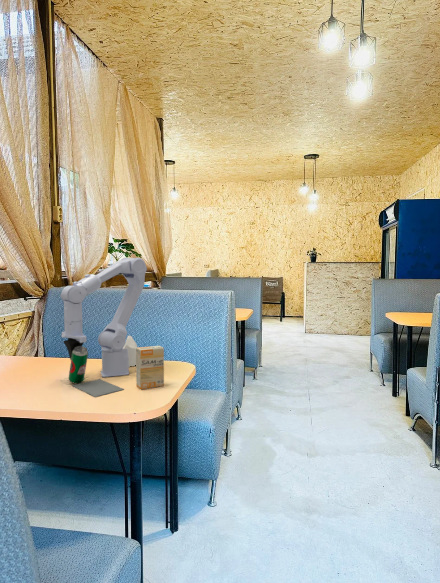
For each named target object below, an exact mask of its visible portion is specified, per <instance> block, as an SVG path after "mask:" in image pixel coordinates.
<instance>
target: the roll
mask: <svg viewBox="0 0 440 583" xmlns="http://www.w3.org/2000/svg"><path fill="white" fill-rule="evenodd" d="M127 335H128V334H127ZM137 347H138V345H137V342H136V341H135V340H134V338H133V336H131V334H130V335H128V336H126V342H125V345H124V347H123V348H122V349H127V350H128V358H129V368H131V367H130V366H134V367H136V366H135V365H136V348H137Z"/></svg>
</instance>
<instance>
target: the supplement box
mask: <svg viewBox="0 0 440 583" xmlns="http://www.w3.org/2000/svg"><path fill="white" fill-rule="evenodd" d="M164 361H165V349H164V347H163V346H161V345H151V346H141V347H139V346H137V348H136V366H135V369H136V370H135V373H136V374H135V379H136V380H135V381H136V382H135V383H136V384H135V385H136V387H137V388H138V389H139V390H140V389H141V390H147V389H146V388H148V389H152V387H154V388H157V387H158V386H160V387H164V386H165V364H164V363H165V362H164ZM158 388H159V387H158Z"/></svg>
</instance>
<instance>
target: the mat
mask: <svg viewBox="0 0 440 583" xmlns="http://www.w3.org/2000/svg"><path fill="white" fill-rule="evenodd" d="M71 386H72V387H73V388H75V389H76V390H79V391H81V392H83V393H85V394H87V395H89V396H92V398H97V397H102V396H105V395H109V394H113V393H117V392H121V391H124V390H125V388H123V387H120V386H118V385H116V384H113V383H110V382H108V381H105V380H103V379H101V378H99V379H95V380H91V381H90V380H89V381H85V382H81V383H75V384H73V385H71Z"/></svg>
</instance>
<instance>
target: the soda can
mask: <svg viewBox="0 0 440 583" xmlns="http://www.w3.org/2000/svg"><path fill="white" fill-rule="evenodd" d="M88 357H89V351H88V348H87V347H85V346H83V345H82V346H78V347H75V348H74V350H73V351H72V357H71V360H70V364H69V365H70V366H69V370H68V371H69V372H68V381H69V382H70V383H72V384H80V383H83V381H84V380H85V375H86V368H87V362H88Z"/></svg>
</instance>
